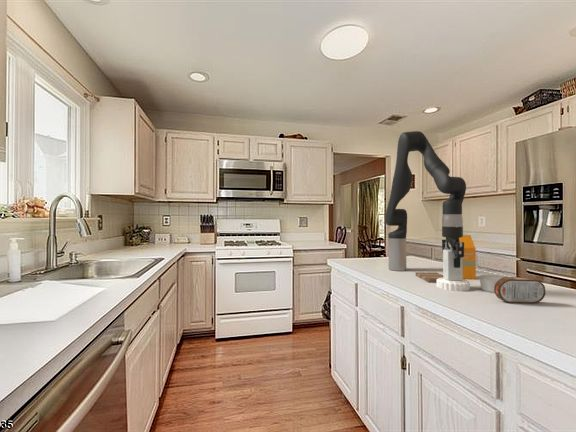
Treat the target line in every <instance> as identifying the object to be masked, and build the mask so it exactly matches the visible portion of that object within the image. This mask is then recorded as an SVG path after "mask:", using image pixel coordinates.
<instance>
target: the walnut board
mask: <svg viewBox="0 0 576 432" xmlns="http://www.w3.org/2000/svg"><path fill="white" fill-rule="evenodd" d="M415 276H417V278H419V279H422V280H423V281H425V282H426V283H429V284H430V283H432V284H433V283H436V284H437V279H439V278H442V277H443V274H440V273H438V272H435V271H434V272H427V271H426V272H421V271H420V272H419V271H418V272H415Z"/></svg>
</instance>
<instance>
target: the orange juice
mask: <svg viewBox="0 0 576 432" xmlns="http://www.w3.org/2000/svg"><path fill="white" fill-rule="evenodd" d="M459 241H460V242H464V257H463V279H464V280H476V276H477V273H476V271H477V270H476V268H477V261H476V260H477V257H476V254H477V253H476V250H477V249H476V246H475V243H474V240H473V238H472V236H471V235H470V234H469V235H467V234H466V235H465V234H463V237H460V238H459Z"/></svg>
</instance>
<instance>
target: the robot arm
mask: <svg viewBox="0 0 576 432" xmlns="http://www.w3.org/2000/svg"><path fill="white" fill-rule="evenodd" d="M396 151H397V152H396V160H395V167H394V173H393V178H392V182H391V190H390V195H389V199H388V202H387V203H388V204H387V206H386V210H385V216H384V221H385V224H386V226H389V227H392V226H393V227H395V226H397V229H395V230H393V231H391V232H389V233H388V235H387V236H388V237H387V238H388V240H387V243H388V270H389V271H395V272H403V271H407V234H408V233H407V232H408V227H407V226H408V212H407V210H406V209H405V208H397V206H398V205H399V203H400V202H401V201H402V200H403V199H404V198H405V197H406V195H408V193H409V192H410V190H411V188H412V183H413V178H414V177H413V173H412V170H411V169H410V165H409V163H408V159H409V155H410V152H419V153H420V154H421V155H422V156H423V166H424V168H425V170H426V172H428V173H429V175H430V176H431V177H432V178H433V181H434V184H435V185H436V188H437V189H438V191H440V192H441V193H442V194H446V195H447V194H448V195H449V197H448V199H447V200H444V201H443V202H442V217H441V237H443V238H445V239H441V249H442V250H441V251H442V254H443V250H451V253H453V256H454V267H455V268H460V258H461V257H464V242H460V241H459V238H460V237H463V235H464V221H463V220H464V218H463V202H464V199H465V194H466V190H467V183H466V181H465V179H464V178H463V177H460V176H451V175H450V172H451V171H450V168H449V167H448V165H446V163H445V162H444V161H443V160H442V159H441V158H440V157H439V156H438V154H437V153H436V151H435V150H434V148H433V146H432V144H431V143H430V142H429V140H428V138H427V137H426V135H425V134H424V133H423V132H422V131H418V130H416V131H415V130H414V131H405V132H402V133H401V134H400V135H399V137H398V141H397V149H396ZM460 252H461V253H460Z"/></svg>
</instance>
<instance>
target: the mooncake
mask: <svg viewBox="0 0 576 432" xmlns="http://www.w3.org/2000/svg"><path fill="white" fill-rule="evenodd" d="M436 288H438V289H441V290H445V291H454V292H467V291H469V290H471V283H470V281H468V279H463V280H446V279H444V278H443V277H442V278H439V279H437V283H436Z"/></svg>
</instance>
